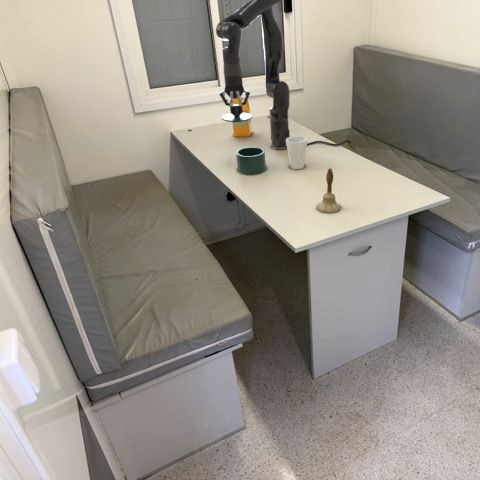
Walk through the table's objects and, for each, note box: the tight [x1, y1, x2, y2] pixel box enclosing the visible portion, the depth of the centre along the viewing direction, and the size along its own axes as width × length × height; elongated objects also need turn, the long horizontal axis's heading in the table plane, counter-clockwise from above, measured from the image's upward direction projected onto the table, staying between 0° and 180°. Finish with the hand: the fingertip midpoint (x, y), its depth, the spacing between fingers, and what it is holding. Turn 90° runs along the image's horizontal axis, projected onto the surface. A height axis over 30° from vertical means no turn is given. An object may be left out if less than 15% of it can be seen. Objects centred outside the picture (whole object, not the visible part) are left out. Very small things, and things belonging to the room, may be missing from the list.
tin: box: [235, 146, 267, 176], centre depth 196 cm, size 13×13×8 cm
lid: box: [221, 104, 253, 123], centre depth 192 cm, size 14×14×6 cm
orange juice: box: [231, 97, 253, 137], centre depth 237 cm, size 8×9×20 cm
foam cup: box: [286, 135, 308, 170], centre depth 198 cm, size 10×9×13 cm
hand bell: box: [317, 168, 340, 214], centre depth 161 cm, size 8×8×16 cm
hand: (236, 114), depth 193 cm, fingers closed on lid, 2 cm apart
